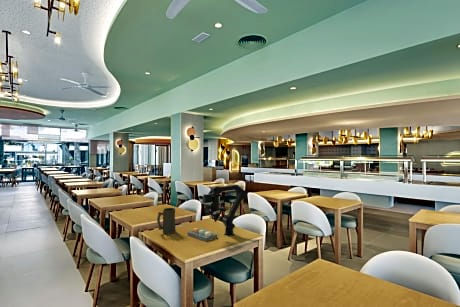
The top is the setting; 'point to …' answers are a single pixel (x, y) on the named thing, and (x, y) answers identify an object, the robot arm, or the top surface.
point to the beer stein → (167, 221)
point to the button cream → (207, 234)
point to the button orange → (196, 230)
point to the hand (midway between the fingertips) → (215, 221)
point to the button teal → (201, 232)
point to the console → (202, 236)
